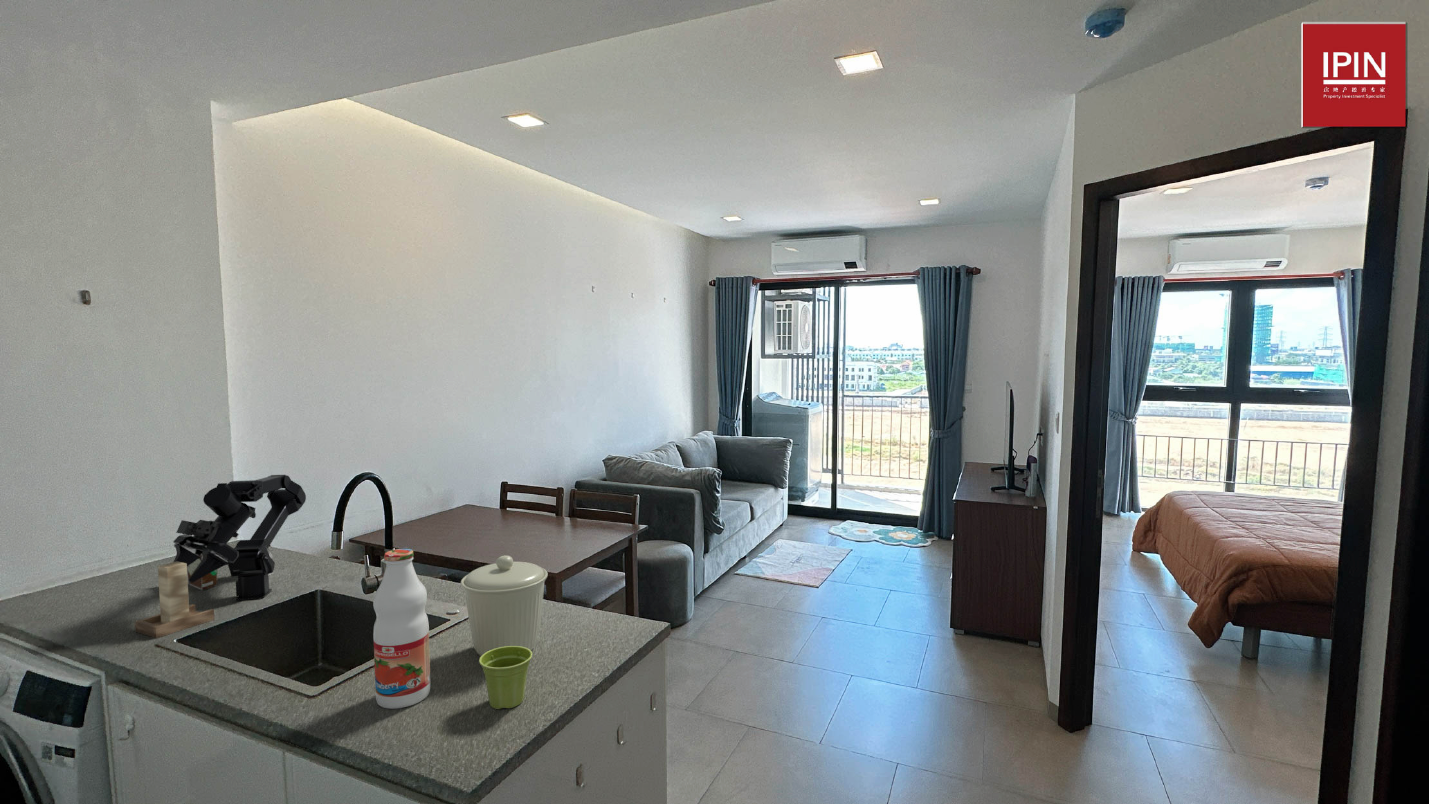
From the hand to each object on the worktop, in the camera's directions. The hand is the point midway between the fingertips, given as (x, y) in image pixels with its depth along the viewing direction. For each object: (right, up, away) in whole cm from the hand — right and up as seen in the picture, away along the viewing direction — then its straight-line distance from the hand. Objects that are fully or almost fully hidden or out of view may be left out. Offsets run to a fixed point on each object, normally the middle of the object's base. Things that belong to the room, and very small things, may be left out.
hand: (179, 579), depth 158 cm
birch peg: (0, -10, -1) cm, 10 cm away
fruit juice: (+71, -13, -35) cm, 80 cm away
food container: (-16, -10, +29) cm, 35 cm away
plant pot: (+91, -13, -37) cm, 99 cm away
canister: (+84, -12, -15) cm, 87 cm away
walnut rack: (0, -11, -1) cm, 11 cm away
